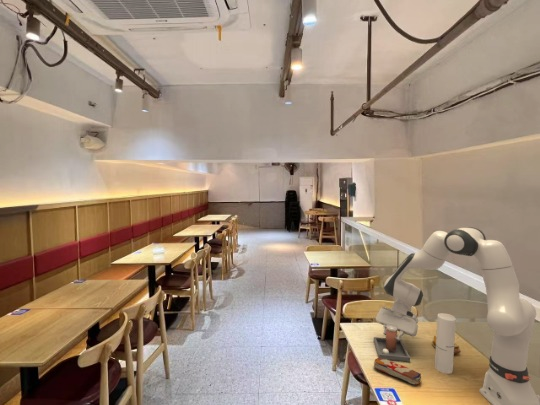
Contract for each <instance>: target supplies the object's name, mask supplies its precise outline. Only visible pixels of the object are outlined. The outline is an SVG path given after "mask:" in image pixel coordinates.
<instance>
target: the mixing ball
mask: <svg viewBox="0 0 540 405" xmlns="http://www.w3.org/2000/svg"><path fill="white" fill-rule="evenodd" d="M382 353H383V354H389V351H388V350H387V349H383V350H382Z"/></svg>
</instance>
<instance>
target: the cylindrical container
mask: <svg viewBox="0 0 540 405" xmlns="http://www.w3.org/2000/svg"><path fill="white" fill-rule="evenodd" d="M436 318H437V320H436V321H437V322H436V335H435V336H436V348H435V357H434V368H435V369H436V370H437V371H438V372H440V373H442V374H444V375H445V374H447V375H450V374H452V373H453V372H454V371H453V368H454V356H455V354H454V343H455V338H456V325H457V324H456V322H457V318H456V317H455V315H452V314H449V313H443V312H441V313H440V312H439V313H437V317H436Z"/></svg>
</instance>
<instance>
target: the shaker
mask: <svg viewBox="0 0 540 405" xmlns="http://www.w3.org/2000/svg"><path fill="white" fill-rule="evenodd" d="M396 335H398V331H397V326H394V325H391V324H387V325H386V335H385V338H386V348H387V349H388V350H391V351H395V350H396V343H397V340H396V339H395V337H396Z"/></svg>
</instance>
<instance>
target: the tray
mask: <svg viewBox="0 0 540 405" xmlns="http://www.w3.org/2000/svg"><path fill="white" fill-rule="evenodd" d="M373 344H374V347H375V350H376V353H377V356H378V357H377V358H383V359H387V360H389V361H392V362H399V363H409V364H410V363H411V356H410V354H409V352H408V350H407V348H406V346H405V344H404V343H403V340H402V339H401V338H400V339H399V340H397V343H396V350H395V351H391V350H388V349H387V348H386V337H379V336H378V337H377V336H374V337H373ZM383 349H387V350H388V351H389V354H383V353H382V350H383Z"/></svg>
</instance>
